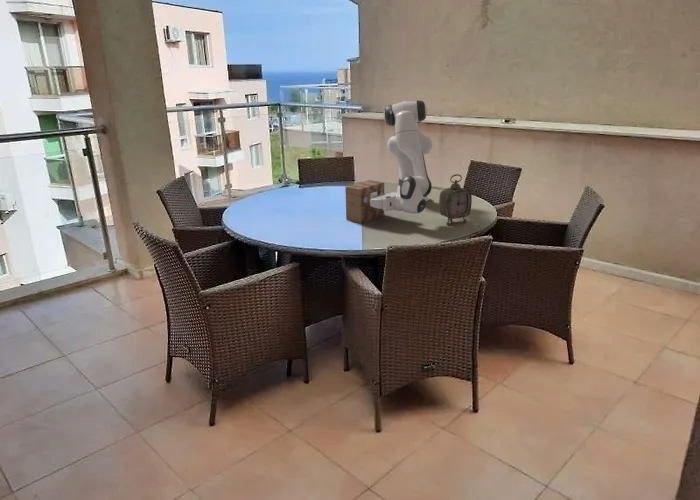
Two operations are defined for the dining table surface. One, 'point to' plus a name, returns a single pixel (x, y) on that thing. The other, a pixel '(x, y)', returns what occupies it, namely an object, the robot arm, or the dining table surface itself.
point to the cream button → (372, 195)
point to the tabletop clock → (455, 201)
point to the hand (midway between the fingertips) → (374, 197)
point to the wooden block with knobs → (362, 201)
